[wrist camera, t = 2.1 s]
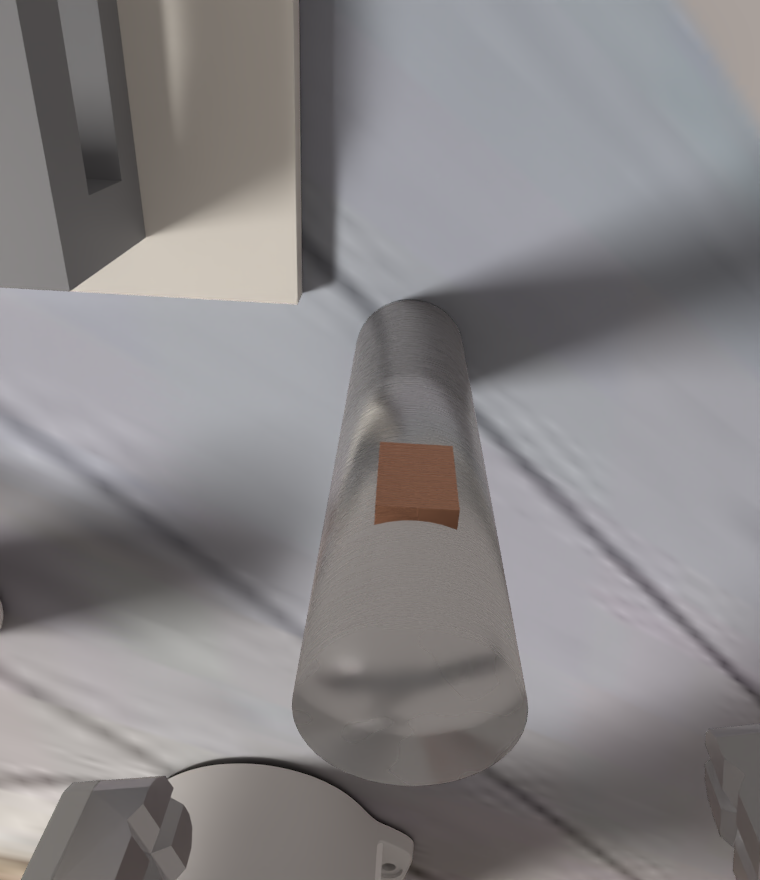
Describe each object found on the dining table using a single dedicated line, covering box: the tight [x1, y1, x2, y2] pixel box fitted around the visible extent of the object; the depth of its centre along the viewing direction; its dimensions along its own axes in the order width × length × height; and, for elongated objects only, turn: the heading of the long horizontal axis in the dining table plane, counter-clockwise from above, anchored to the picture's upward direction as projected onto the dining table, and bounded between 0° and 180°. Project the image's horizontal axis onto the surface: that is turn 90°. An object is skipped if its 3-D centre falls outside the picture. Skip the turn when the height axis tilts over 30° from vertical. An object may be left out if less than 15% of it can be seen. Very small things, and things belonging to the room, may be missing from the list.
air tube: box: [292, 300, 528, 786], centre depth 18 cm, size 4×4×16 cm
